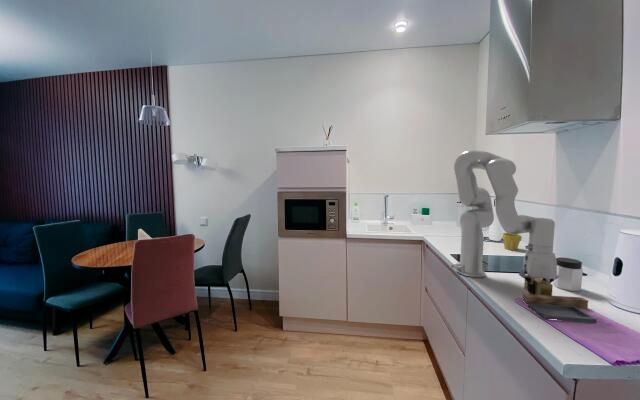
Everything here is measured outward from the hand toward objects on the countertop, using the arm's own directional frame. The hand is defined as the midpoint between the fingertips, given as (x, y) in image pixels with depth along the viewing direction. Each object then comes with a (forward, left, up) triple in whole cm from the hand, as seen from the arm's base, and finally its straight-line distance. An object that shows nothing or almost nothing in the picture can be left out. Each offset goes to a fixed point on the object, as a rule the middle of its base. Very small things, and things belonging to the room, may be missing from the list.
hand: (537, 292), depth 107 cm
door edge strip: (0, -9, -1) cm, 9 cm away
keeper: (-3, -17, -1) cm, 17 cm away
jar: (+17, +9, -1) cm, 19 cm away
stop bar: (0, 0, -1) cm, 1 cm away
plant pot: (+28, +72, -1) cm, 77 cm away
